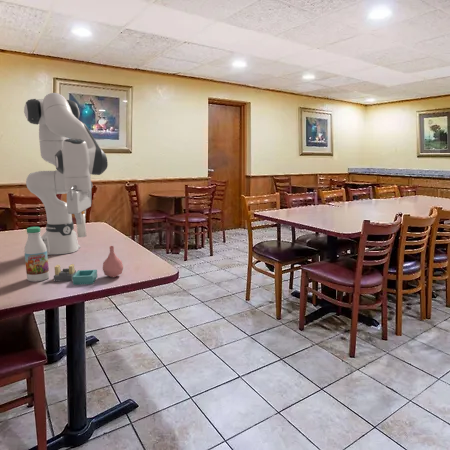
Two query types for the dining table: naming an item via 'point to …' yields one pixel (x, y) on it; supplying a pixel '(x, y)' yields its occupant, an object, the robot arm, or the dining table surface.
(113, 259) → the pink bulb-shaped piece
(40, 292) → the dining table surface
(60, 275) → the clip block
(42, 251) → the milk bottle
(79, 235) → the fuse
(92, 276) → the tray
